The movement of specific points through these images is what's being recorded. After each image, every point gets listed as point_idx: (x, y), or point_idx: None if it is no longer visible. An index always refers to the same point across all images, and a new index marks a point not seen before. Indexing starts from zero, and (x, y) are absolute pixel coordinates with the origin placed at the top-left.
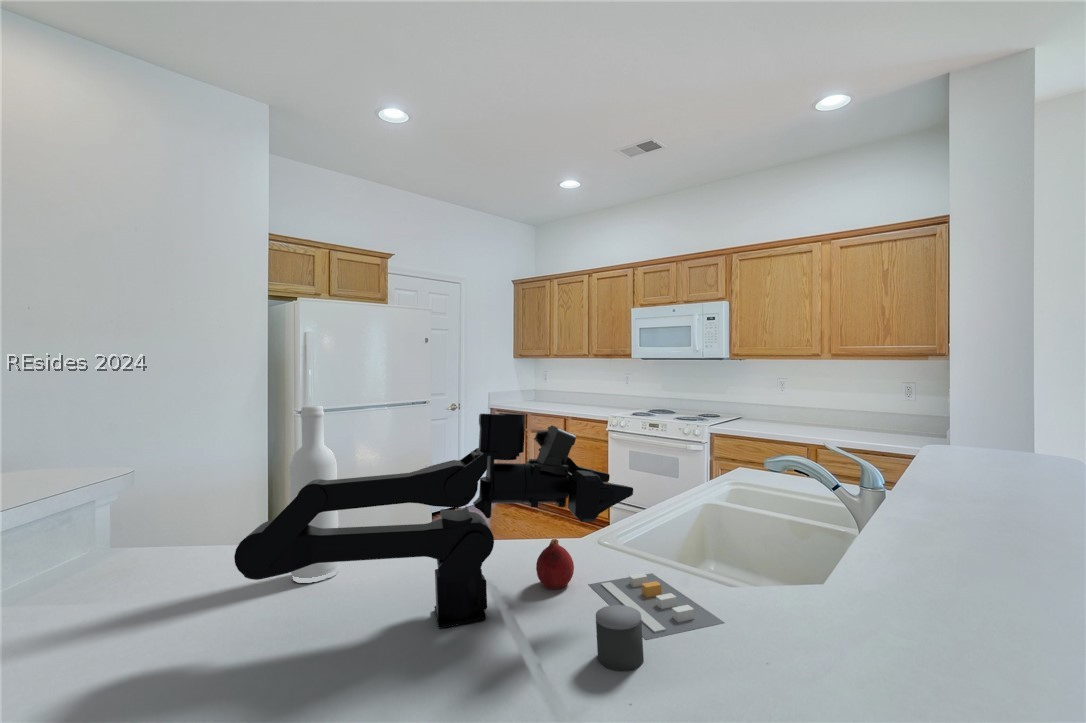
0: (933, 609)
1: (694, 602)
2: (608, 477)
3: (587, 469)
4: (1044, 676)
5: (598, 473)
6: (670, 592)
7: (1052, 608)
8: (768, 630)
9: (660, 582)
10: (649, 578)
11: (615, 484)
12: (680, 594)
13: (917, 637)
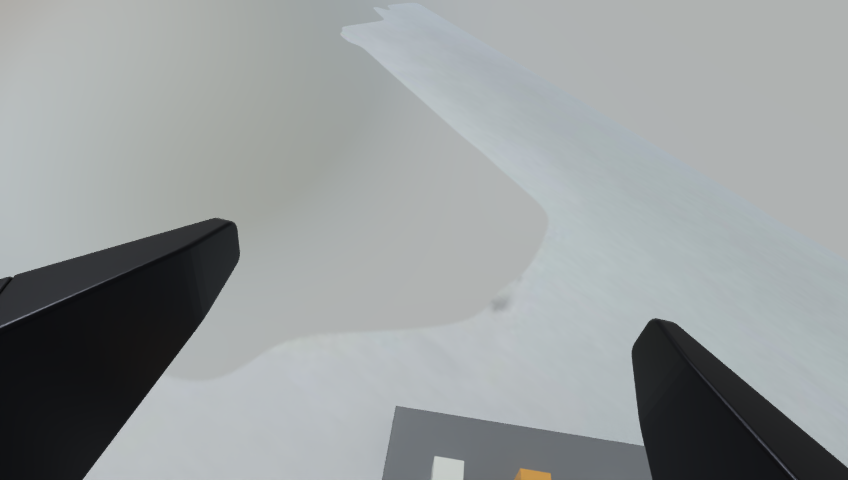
0: (648, 203)
1: (610, 442)
2: (234, 243)
3: (38, 312)
4: (812, 251)
5: (171, 268)
6: (537, 453)
7: (657, 155)
8: None
9: (464, 430)
10: (424, 437)
11: (798, 449)
12: (556, 439)
13: (725, 261)
